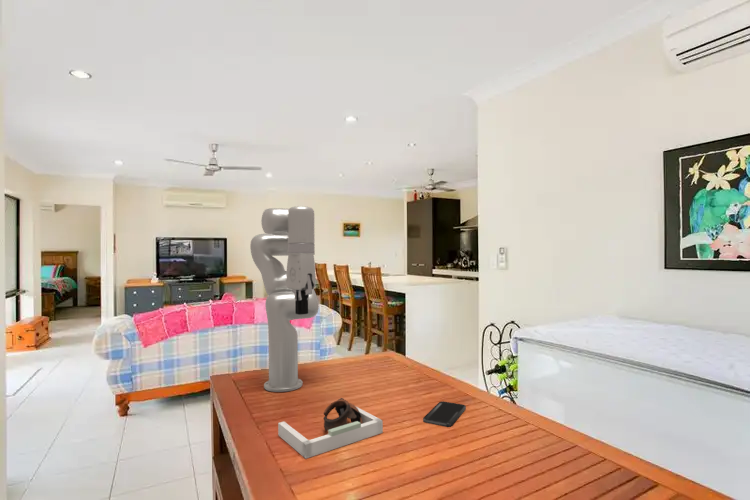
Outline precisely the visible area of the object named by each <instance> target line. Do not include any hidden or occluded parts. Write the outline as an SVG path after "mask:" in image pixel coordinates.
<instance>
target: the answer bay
mask: <svg viewBox="0 0 750 500" xmlns="http://www.w3.org/2000/svg"><path fill="white" fill-rule="evenodd" d="M356 407H357V409H358V411H359V412H360V414H361V418H362V421H363V424H361V423H360V422H358V421H356V422H352V423H351V422H349V423H347V424H346V425H342V426H339V427H336V428H333V429H329V430H327V434H325V435H322V436H318V437H314V438H312V439H308V438H306V437H305V436H304V435H302V433H300V432H299V431H297V430H296V429H295V428H293V427H292V426H291V425H289V424H288V423H287V422H286V421H285V420H284V421H281V422H278V424H277V425H278V427H277V428H278V430H277V433H278V437H280V438H281V439H282V440H283V441H285V443H287V444H288V445H289V446H290V447H292V449H293V450H294V451H295V452H297V453H299V454H300V455H301V456H302V457H303V458H304V459H305V460H306V459H308V458H312V457H314V456H317V455H321V454H323V453H326V452H329V451H332V450H336V449H338V448H341V447H345V446H348V445H350V444H353V443H356V442H359V441H363V440H366V439H368V438H370V437H373V436H377V435H380V434H383V433H384V432H383V431H384V429H383V428H384V427H383V423H384V422H383V419H381V418H379V417H376V416H375V415H373V414H371V413H370V412H367V411H366V410H364V409H362V408H360V407H359V406H356Z"/></svg>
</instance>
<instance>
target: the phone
mask: <svg viewBox="0 0 750 500" xmlns="http://www.w3.org/2000/svg"><path fill="white" fill-rule="evenodd" d="M466 407H467V406H466V405H465V404H461V403H456V402H450V401H443V400H442V401H439V402H438V403H437V404H435V406H434V407H433V408H432V409H431V410H429V412H428V413H426V414H425V416H424V417H422V422H423V423H425V424H429V425H434V426H440V427H444V428H451V427H453V426H454V424H455V423H456V421H457V420H458V419H459V418H460V417H461V416H462V414H463V413H464V412H465V411H466Z"/></svg>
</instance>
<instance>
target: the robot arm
mask: <svg viewBox="0 0 750 500" xmlns="http://www.w3.org/2000/svg"><path fill="white" fill-rule="evenodd" d="M260 223H261V227H262V231H263V232H264V233H261V234H257V235H255V236H253V237H252V238H251V241H250V254H251V257H252V261H253V263H254V264H255V266H256V268H257V269H258V271H259V272H260V275H261V278H262V283H263V286H264V289H265V292H266V294H267V297H266V299H265V305H264V306H265V312H266V318H267V330H268V332H267V333H268V335H267V336H268V380H267V381H266V382H264V384H263V389H264V390H266V391H268V392H274V393H286V392H291V391H296V390H298V389H300V388H301V387H302V386H303V383H304V382H303V380H302V379H301V378H299V366H298V365H299V361H298V359H299V358H298V357H299V355H298V352H299V351H298V350H299V349H298V348H299V347H298V346H299V344H298V343H299V341H298V339H299V338H298V332H297V328H295V326H294V325H293V324H292V323H291V322H290V321H294V320H304V319H312V318H314V317H315V316H316V315H317V314H318V312H319V300H318V297H317V294H316V291H315V288H316V283H317V282H316V262H315V256H316V255H315V251H316V250H315V210H314V209H313V208H312V207H310V206H303V205H302V206H301V205H300V206H299V205H298V206H292V207H290V208H282V207H281V208H280V207H279V208H276V207H272V208H266V209H264V211H263V212H262V216H261V221H260ZM314 255H315V256H314ZM275 256H280V257H282V256H285V257H287V256H288V257H287V262H286V269H285V267H284V265H283V263H282V262H281V261H280V260H279V259H278V258H276V257H275Z"/></svg>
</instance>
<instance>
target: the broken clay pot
mask: <svg viewBox="0 0 750 500" xmlns="http://www.w3.org/2000/svg"><path fill="white" fill-rule="evenodd" d="M357 407H358V406H356V405H355V404H353V403H351V402H349V401H348V400H346V399H345V398H344V397H340V398H339V399H337V400H335V401H333V402H331V403H330V404H329V405H328V406H327V407H326V408H325V409H324V412H323V416H324V417H323V427H324V431H325V432H328V430H329V429H333V428H336V427H339V426H342V425H346V424H348V419H349V420H350V423H352V422H356V421H358V422H360V423H361V424H363V421H362V418H361V414H360V412H359V411H358V409H357ZM334 409H335V411H336V413H337V414H338V417H335V418H332V419H329V418H328V415H329V414H330V413H331V411H332V410H334Z"/></svg>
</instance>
